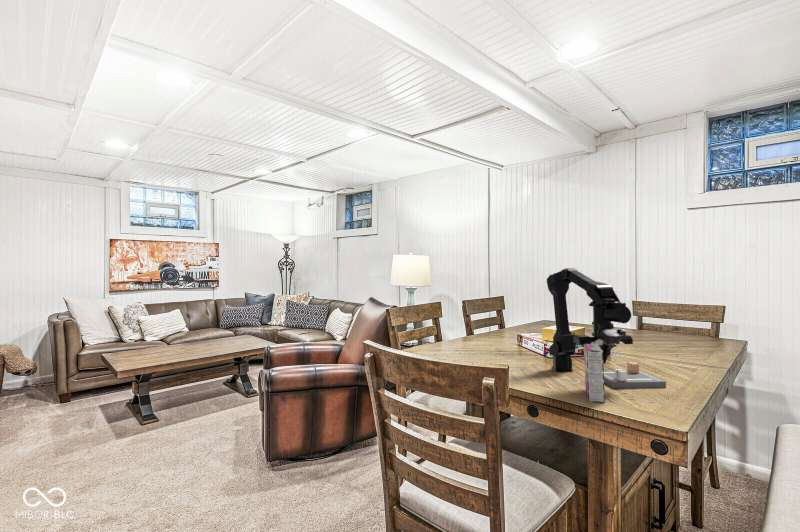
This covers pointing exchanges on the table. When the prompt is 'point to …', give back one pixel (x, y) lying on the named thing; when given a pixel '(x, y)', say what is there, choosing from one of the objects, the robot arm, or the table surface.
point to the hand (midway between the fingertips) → (603, 363)
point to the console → (633, 380)
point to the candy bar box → (594, 372)
